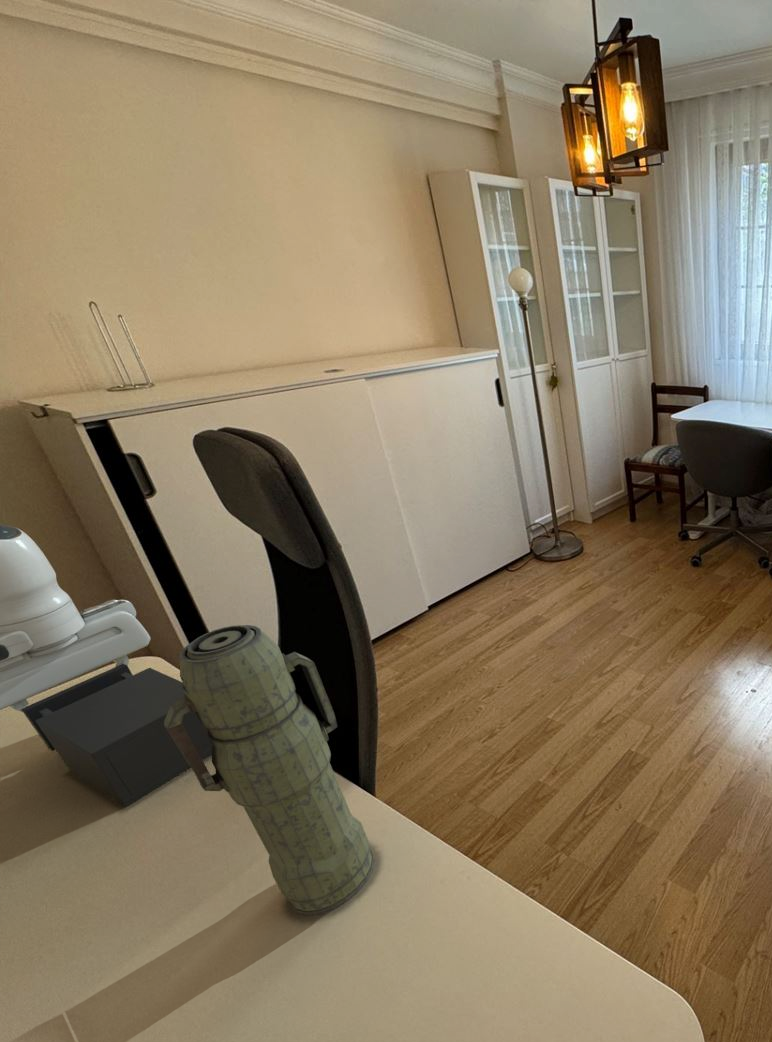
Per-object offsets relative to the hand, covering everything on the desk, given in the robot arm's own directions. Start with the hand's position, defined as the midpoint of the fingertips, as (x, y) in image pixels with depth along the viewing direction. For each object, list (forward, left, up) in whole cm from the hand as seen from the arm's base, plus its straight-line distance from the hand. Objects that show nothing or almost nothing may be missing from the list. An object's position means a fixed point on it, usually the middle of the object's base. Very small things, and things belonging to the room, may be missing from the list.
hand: (84, 699), depth 89 cm
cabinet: (+16, 0, -6) cm, 17 cm away
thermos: (+61, -2, -6) cm, 62 cm away
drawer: (+6, 0, -5) cm, 8 cm away
